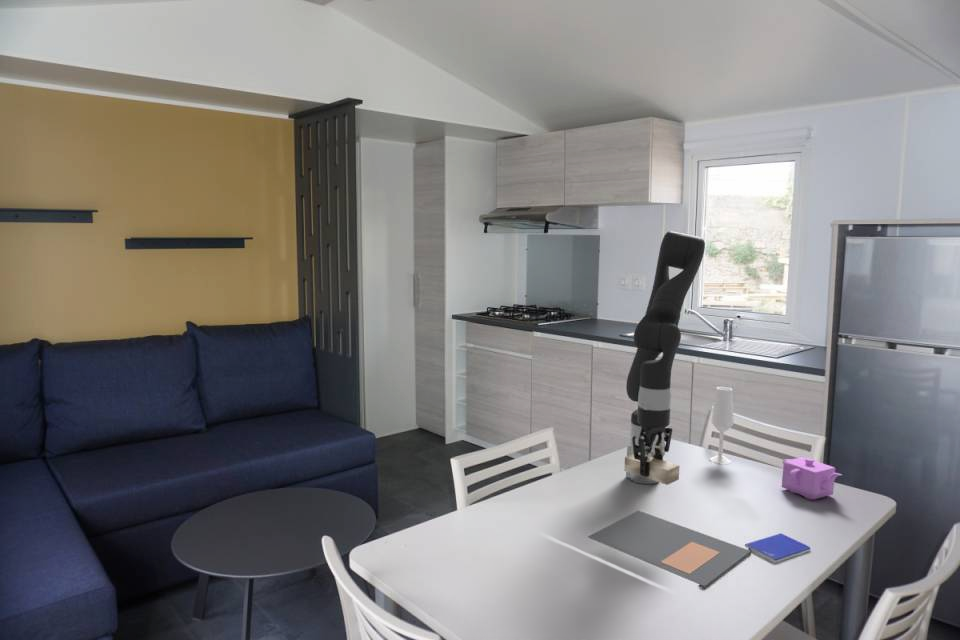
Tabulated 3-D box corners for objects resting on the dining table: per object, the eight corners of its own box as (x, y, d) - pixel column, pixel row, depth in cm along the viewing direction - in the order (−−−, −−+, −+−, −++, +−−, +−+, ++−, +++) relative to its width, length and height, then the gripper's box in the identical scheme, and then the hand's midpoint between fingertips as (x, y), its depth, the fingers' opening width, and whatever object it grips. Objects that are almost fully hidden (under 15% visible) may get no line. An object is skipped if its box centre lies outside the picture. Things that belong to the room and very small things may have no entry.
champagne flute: (708, 462, 209) (712, 389, 206) (709, 456, 215) (713, 385, 212) (730, 465, 207) (735, 391, 203) (731, 458, 213) (735, 387, 210)
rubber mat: (587, 539, 156) (587, 536, 156) (638, 512, 171) (638, 510, 171) (704, 588, 135) (704, 585, 134) (750, 553, 150) (751, 550, 150)
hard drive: (775, 558, 145) (810, 546, 151) (744, 543, 152) (779, 532, 158) (774, 565, 145) (810, 553, 151) (744, 549, 153) (779, 538, 158)
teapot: (853, 501, 179) (857, 466, 178) (821, 511, 173) (824, 475, 172) (795, 479, 195) (798, 447, 194) (764, 487, 189) (766, 454, 187)
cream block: (624, 470, 160) (624, 457, 160) (636, 466, 164) (636, 452, 163) (667, 484, 152) (668, 470, 151) (678, 479, 155) (679, 465, 155)
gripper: (657, 397, 163) (654, 462, 165) (623, 406, 153) (620, 476, 156) (684, 402, 157) (680, 470, 160) (650, 413, 148) (647, 485, 150)
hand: (651, 472), depth 158 cm, fingers closed on cream block, 5 cm apart
